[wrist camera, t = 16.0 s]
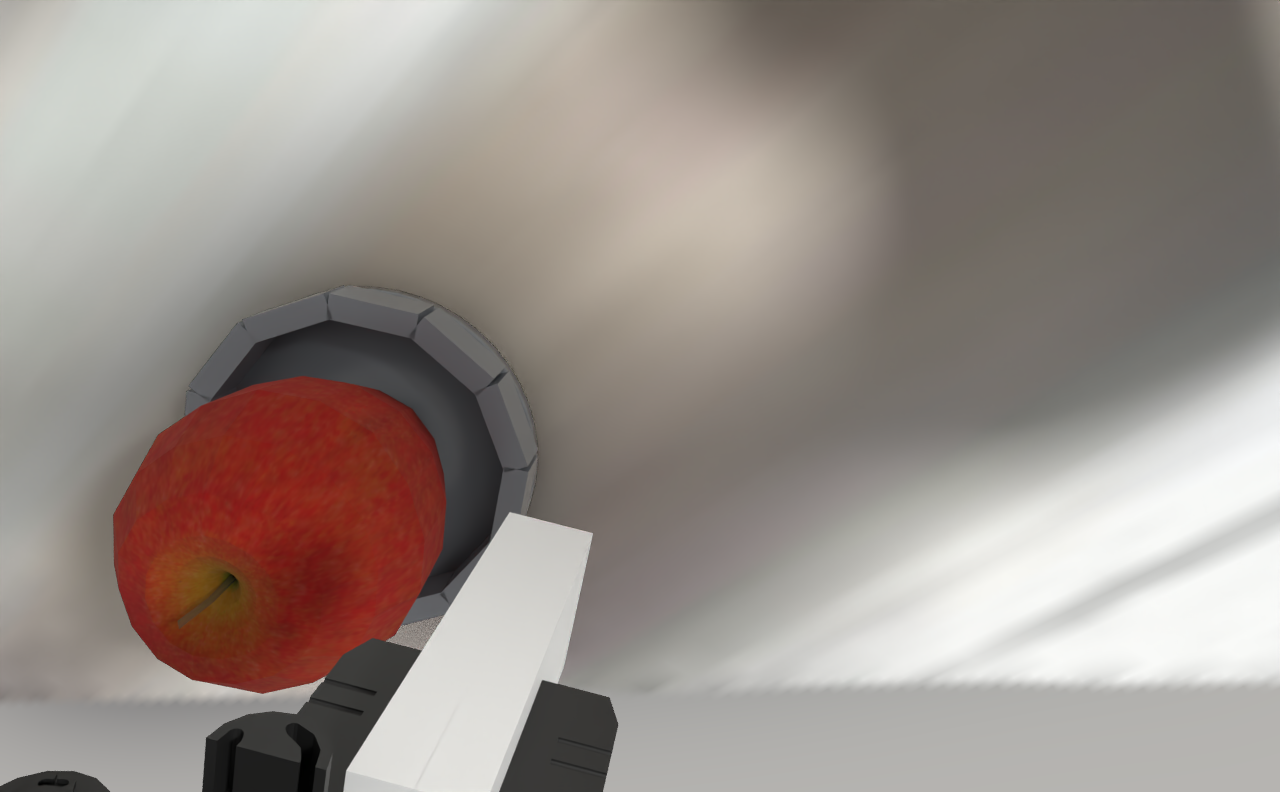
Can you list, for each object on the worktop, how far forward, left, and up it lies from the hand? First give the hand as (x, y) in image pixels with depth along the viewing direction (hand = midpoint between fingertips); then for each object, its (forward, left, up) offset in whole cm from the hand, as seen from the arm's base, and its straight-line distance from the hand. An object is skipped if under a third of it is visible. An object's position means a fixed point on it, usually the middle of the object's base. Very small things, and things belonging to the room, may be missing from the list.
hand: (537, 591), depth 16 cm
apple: (+2, -13, -21) cm, 24 cm away
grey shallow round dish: (+2, -13, -22) cm, 25 cm away
